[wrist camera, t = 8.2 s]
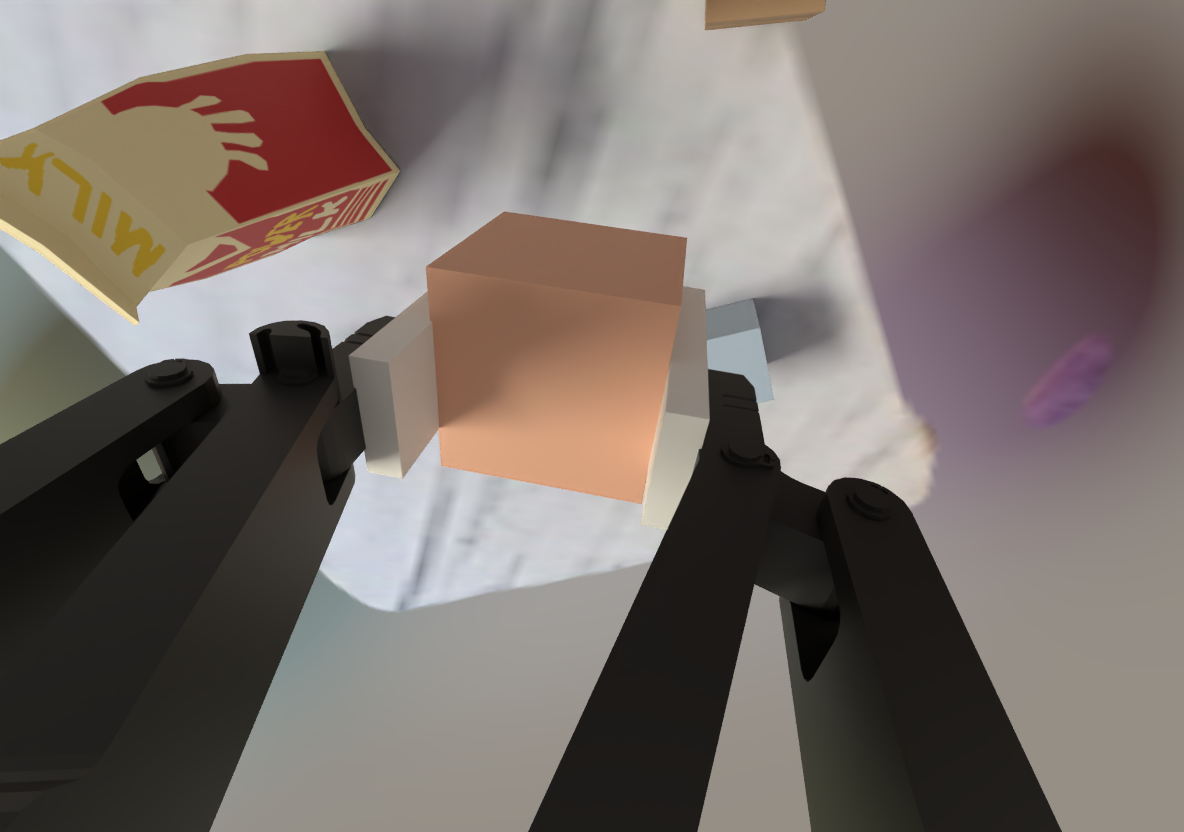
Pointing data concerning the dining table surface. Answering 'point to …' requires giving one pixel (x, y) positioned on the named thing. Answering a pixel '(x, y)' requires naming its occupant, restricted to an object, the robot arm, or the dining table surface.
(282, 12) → the dining table surface
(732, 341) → the slate blue cube
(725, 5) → the walnut cube
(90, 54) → the dining table surface
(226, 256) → the milk carton
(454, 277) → the terracotta cube
